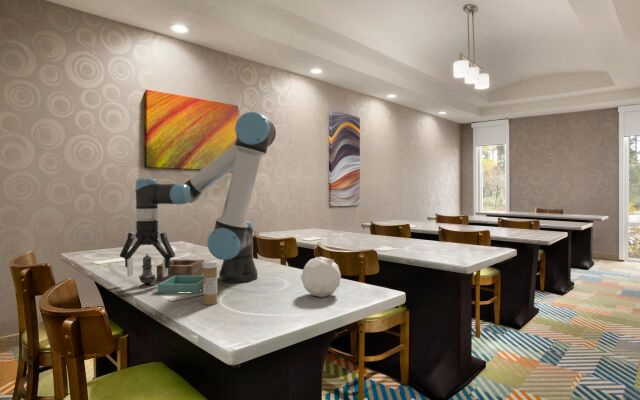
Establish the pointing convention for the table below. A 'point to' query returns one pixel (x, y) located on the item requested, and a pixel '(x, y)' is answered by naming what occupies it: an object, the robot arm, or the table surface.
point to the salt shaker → (147, 273)
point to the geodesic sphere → (321, 276)
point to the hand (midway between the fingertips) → (147, 276)
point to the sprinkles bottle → (209, 282)
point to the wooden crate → (181, 269)
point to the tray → (181, 284)
